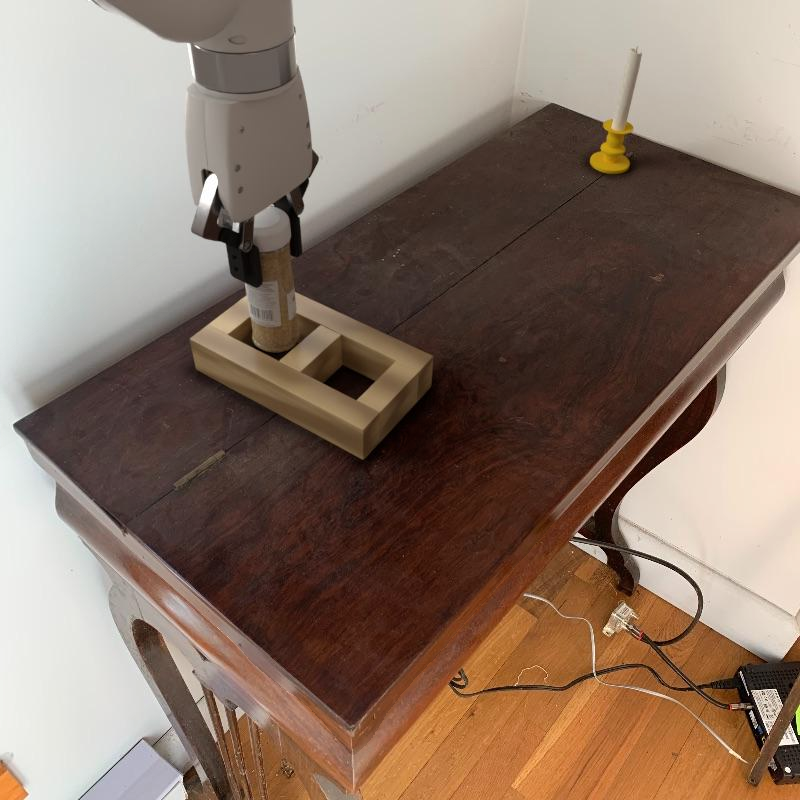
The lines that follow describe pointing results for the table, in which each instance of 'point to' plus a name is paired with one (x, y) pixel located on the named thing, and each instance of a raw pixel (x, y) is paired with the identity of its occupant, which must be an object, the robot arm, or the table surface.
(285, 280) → the sprinkles bottle
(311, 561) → the table surface
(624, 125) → the candle
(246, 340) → the holder
